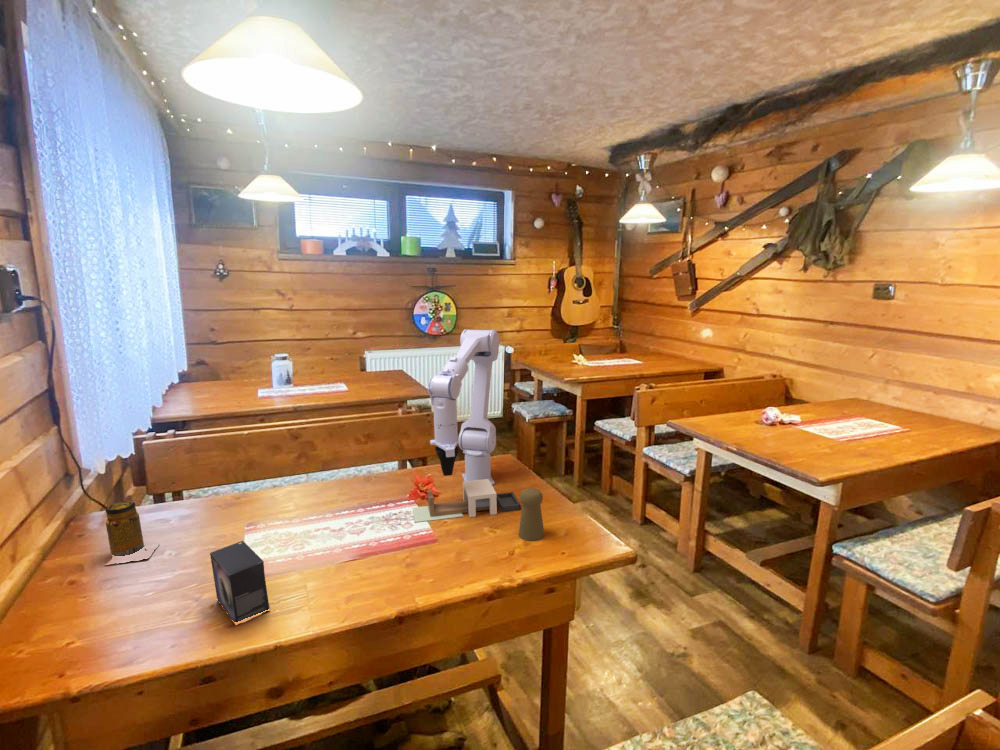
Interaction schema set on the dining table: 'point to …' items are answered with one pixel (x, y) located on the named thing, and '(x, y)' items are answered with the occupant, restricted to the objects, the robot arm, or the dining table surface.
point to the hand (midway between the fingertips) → (447, 474)
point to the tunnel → (479, 495)
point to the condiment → (124, 528)
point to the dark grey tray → (508, 502)
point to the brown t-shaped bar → (454, 506)
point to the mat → (424, 515)
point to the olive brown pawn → (531, 515)
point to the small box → (239, 581)
